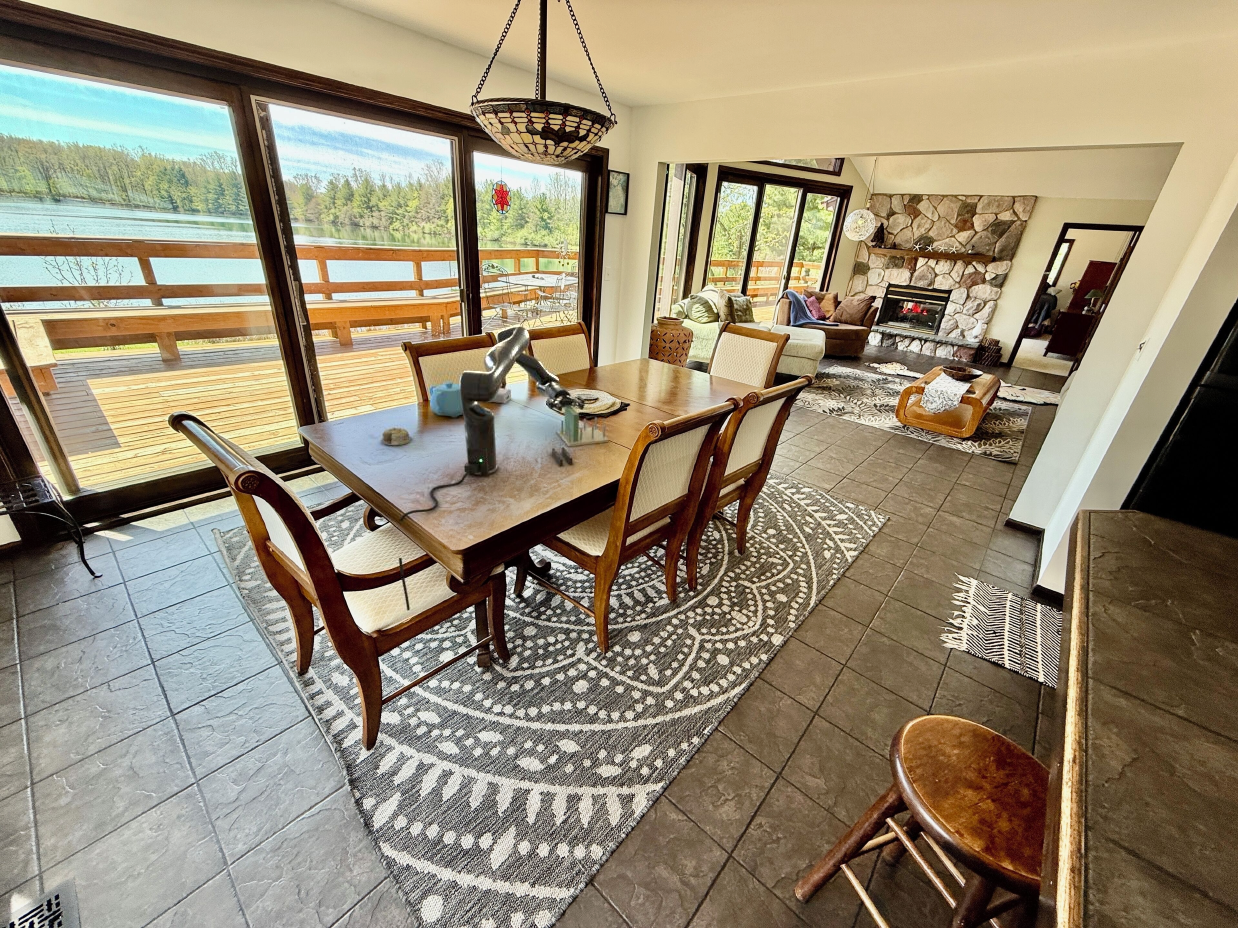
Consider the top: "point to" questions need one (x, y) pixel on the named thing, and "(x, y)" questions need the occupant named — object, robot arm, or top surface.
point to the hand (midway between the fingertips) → (571, 408)
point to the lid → (571, 422)
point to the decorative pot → (446, 399)
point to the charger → (502, 396)
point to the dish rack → (584, 435)
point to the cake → (395, 436)
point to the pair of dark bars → (558, 458)
